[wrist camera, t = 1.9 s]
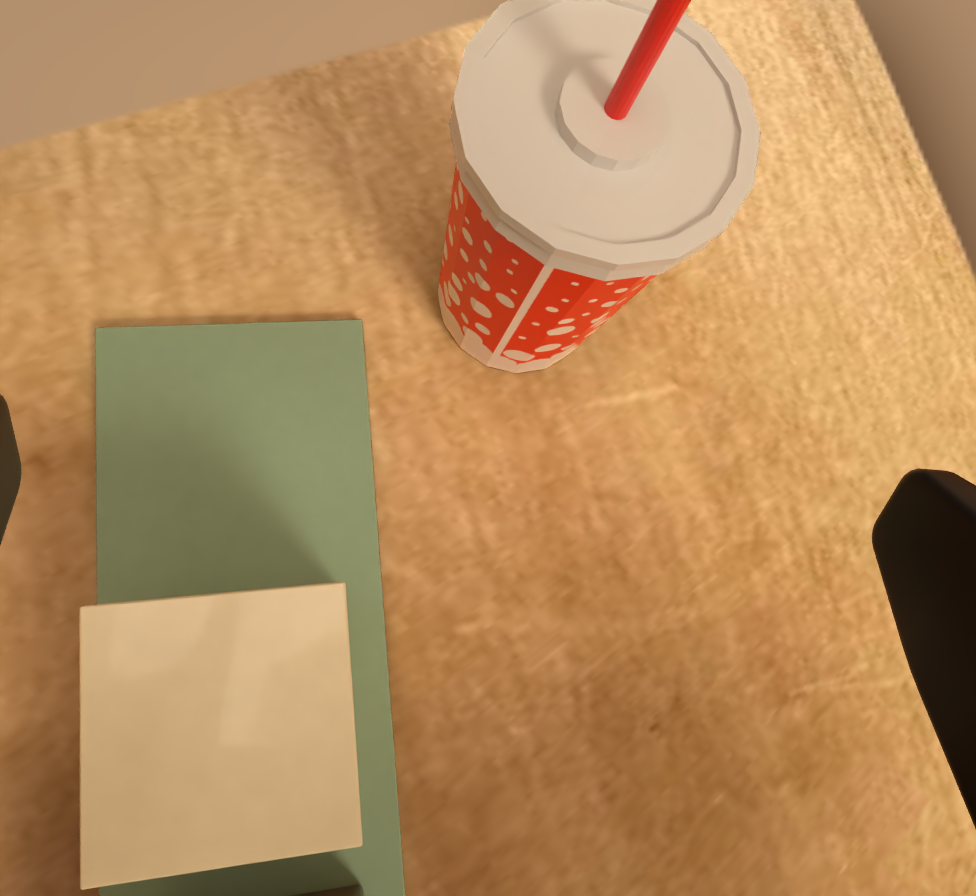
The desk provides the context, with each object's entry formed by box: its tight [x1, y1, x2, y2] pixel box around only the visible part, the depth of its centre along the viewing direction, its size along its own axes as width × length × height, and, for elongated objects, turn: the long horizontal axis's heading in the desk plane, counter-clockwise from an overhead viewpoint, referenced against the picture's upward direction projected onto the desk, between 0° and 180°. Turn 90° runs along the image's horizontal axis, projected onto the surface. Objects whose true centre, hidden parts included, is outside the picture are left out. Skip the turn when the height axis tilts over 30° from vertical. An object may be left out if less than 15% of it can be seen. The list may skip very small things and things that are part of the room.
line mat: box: [95, 319, 405, 896], centre depth 20 cm, size 22×7×1 cm, turn 6°
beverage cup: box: [438, 0, 761, 373], centre depth 18 cm, size 6×6×14 cm
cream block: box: [79, 582, 363, 889], centre depth 18 cm, size 5×5×5 cm
